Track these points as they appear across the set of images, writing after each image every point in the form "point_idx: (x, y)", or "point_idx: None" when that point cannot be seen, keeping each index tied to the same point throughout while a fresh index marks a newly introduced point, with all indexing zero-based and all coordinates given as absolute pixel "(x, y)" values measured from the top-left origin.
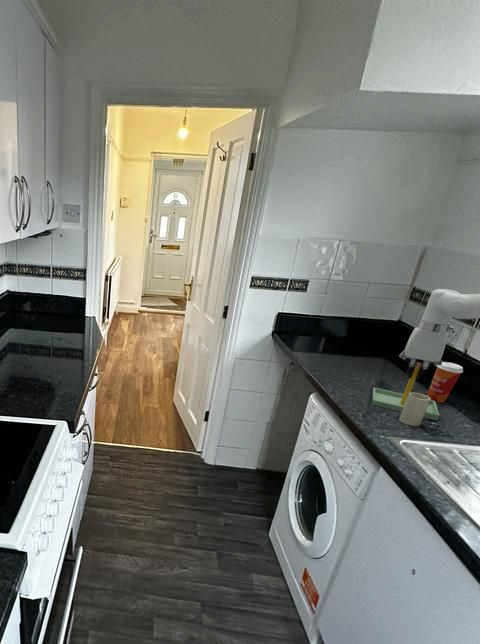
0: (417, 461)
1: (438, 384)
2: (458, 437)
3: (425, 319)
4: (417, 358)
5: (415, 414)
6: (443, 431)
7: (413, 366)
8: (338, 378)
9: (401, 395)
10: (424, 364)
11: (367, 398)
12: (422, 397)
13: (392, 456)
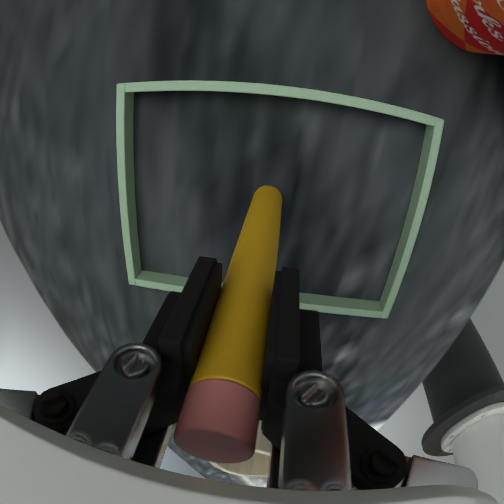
0: (244, 477)
1: (498, 32)
2: (377, 402)
3: None
4: None
5: None
6: (351, 390)
7: (179, 407)
8: (8, 44)
9: (270, 94)
10: (270, 481)
11: (112, 230)
12: (267, 444)
13: (207, 474)
